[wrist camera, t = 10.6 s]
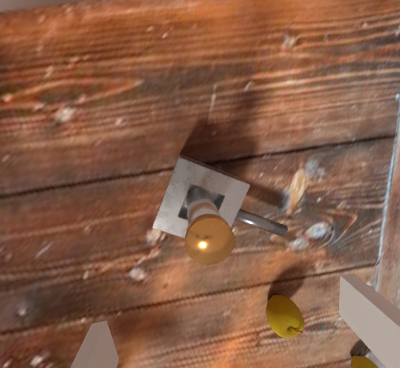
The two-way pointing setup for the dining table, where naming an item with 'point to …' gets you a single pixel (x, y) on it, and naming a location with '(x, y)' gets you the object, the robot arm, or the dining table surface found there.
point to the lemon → (362, 362)
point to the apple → (284, 316)
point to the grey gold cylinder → (206, 229)
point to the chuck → (220, 192)
